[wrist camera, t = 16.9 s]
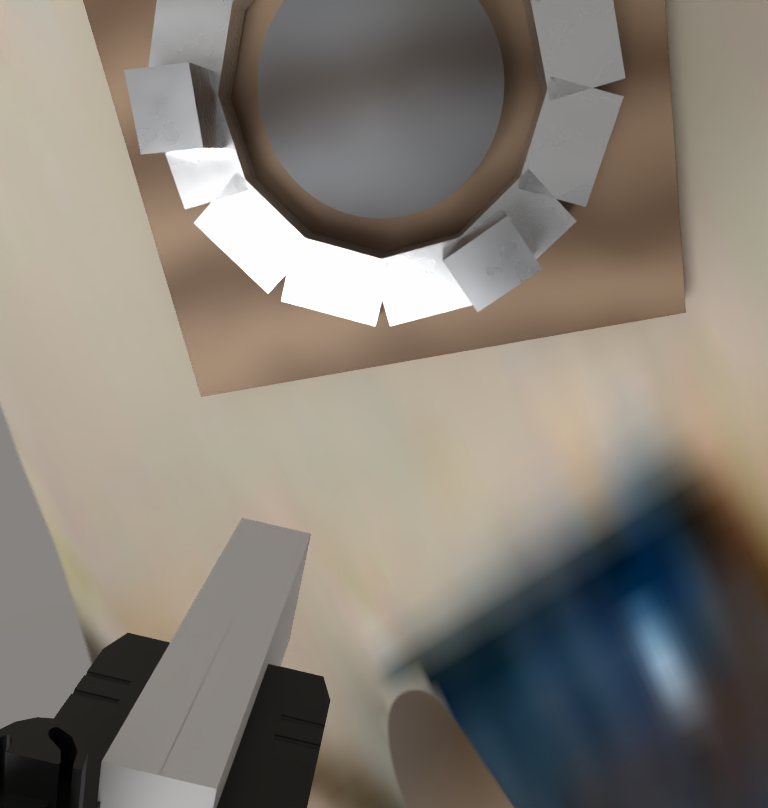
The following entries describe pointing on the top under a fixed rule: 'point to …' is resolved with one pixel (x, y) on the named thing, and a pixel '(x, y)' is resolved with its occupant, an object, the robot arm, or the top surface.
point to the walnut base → (541, 306)
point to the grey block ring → (348, 263)
